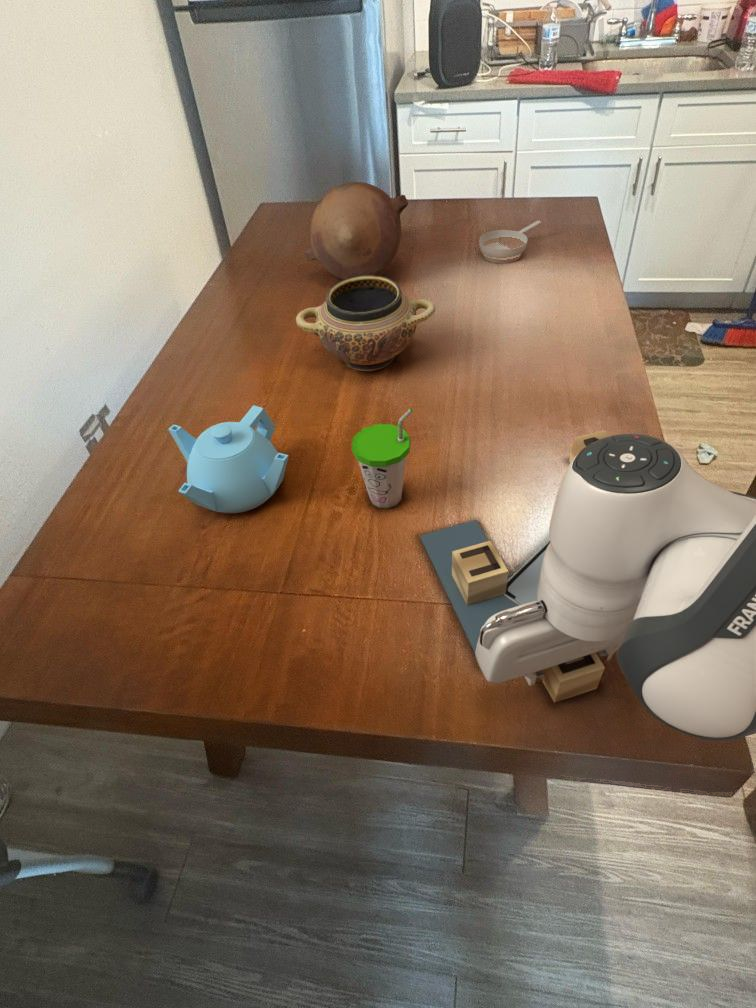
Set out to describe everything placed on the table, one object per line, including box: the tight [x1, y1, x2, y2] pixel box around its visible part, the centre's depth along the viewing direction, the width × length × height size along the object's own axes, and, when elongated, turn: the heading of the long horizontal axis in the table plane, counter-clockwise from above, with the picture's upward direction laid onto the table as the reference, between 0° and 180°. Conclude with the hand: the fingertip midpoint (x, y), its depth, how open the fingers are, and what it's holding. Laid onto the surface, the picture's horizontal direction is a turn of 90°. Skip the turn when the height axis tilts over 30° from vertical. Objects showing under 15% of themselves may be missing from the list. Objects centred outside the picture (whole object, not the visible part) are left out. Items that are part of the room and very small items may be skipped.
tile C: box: [542, 653, 606, 703], centre depth 64 cm, size 5×5×5 cm
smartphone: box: [504, 539, 550, 605], centre depth 75 cm, size 7×1×15 cm
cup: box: [351, 407, 414, 509], centre depth 81 cm, size 8×8×15 cm
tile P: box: [568, 429, 612, 464], centre depth 86 cm, size 5×5×5 cm
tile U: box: [452, 540, 509, 605], centre depth 72 cm, size 5×5×5 cm
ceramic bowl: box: [295, 275, 436, 372], centre depth 108 cm, size 24×18×15 cm
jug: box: [304, 181, 409, 281], centre depth 133 cm, size 20×20×30 cm
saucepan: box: [478, 220, 542, 264], centre depth 139 cm, size 11×18×4 cm, turn 130°
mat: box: [419, 519, 520, 654], centre depth 74 cm, size 20×8×1 cm, turn 17°
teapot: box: [168, 404, 289, 514], centre depth 87 cm, size 15×15×11 cm
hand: (566, 667), depth 64 cm, fingers open, 6 cm apart
